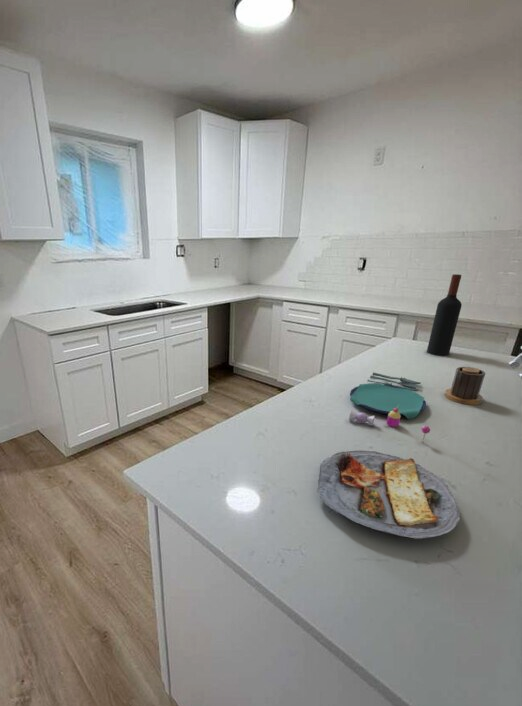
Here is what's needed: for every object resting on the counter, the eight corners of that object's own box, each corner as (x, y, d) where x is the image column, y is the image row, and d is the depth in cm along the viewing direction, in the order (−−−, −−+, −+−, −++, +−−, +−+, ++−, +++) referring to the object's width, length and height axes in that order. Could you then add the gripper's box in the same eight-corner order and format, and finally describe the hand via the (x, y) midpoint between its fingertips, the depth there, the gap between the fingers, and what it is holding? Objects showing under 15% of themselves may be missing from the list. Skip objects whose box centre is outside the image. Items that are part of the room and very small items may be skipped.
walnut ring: (474, 391, 108) (481, 368, 105) (480, 400, 102) (488, 376, 99) (448, 388, 110) (454, 365, 107) (453, 397, 105) (460, 373, 102)
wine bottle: (423, 353, 144) (441, 275, 132) (430, 348, 149) (448, 273, 137) (445, 357, 139) (466, 276, 127) (451, 352, 144) (472, 274, 132)
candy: (346, 426, 94) (349, 405, 92) (353, 413, 100) (356, 393, 98) (426, 445, 85) (432, 422, 83) (428, 430, 91) (434, 408, 89)
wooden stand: (476, 393, 109) (485, 366, 106) (485, 406, 102) (495, 377, 98) (441, 390, 112) (449, 362, 109) (448, 402, 105) (456, 373, 101)
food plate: (322, 449, 85) (323, 437, 83) (437, 469, 77) (441, 455, 75) (312, 525, 64) (314, 510, 62) (469, 564, 55) (476, 547, 54)
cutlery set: (340, 408, 104) (341, 400, 103) (366, 374, 125) (367, 368, 125) (419, 427, 93) (421, 419, 92) (433, 387, 114) (435, 380, 113)
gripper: (552, 322, 100) (497, 351, 108) (586, 343, 83) (519, 377, 91) (567, 338, 100) (511, 367, 108) (604, 363, 83) (535, 395, 91)
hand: (515, 372), depth 100 cm, fingers open, 8 cm apart
